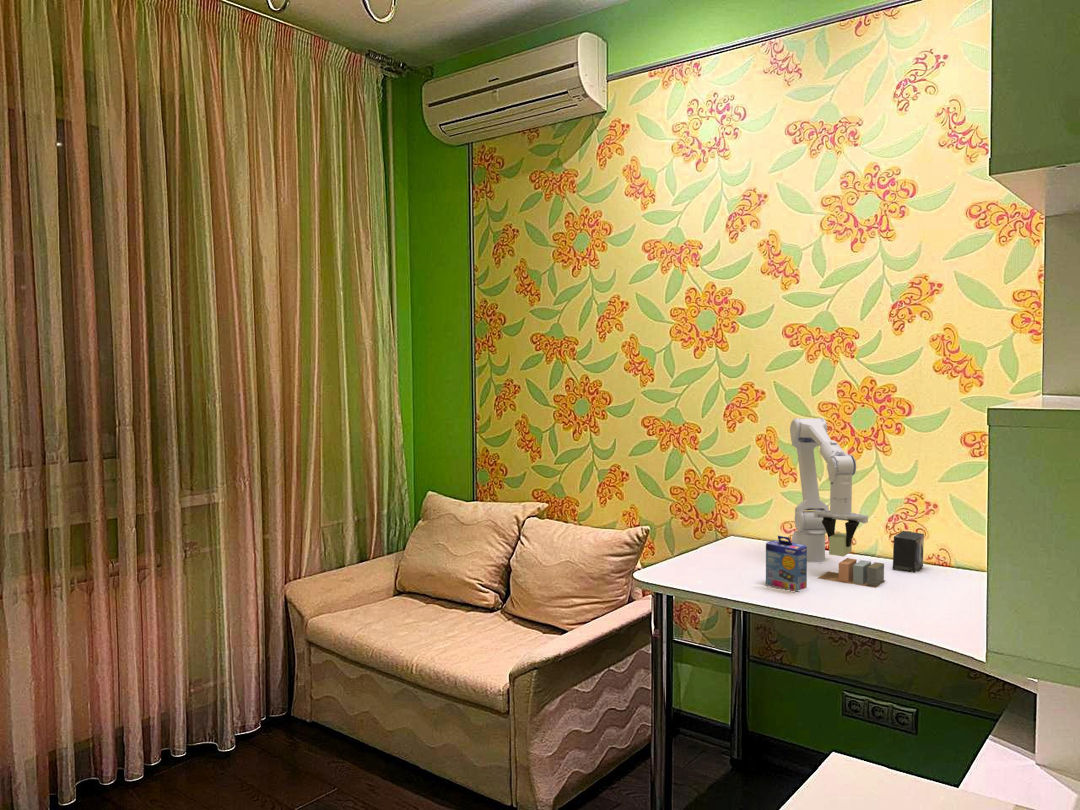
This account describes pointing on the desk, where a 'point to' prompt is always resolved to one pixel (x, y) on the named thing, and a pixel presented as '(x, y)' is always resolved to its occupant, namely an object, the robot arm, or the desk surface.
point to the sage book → (838, 545)
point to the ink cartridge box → (786, 564)
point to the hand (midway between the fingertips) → (840, 545)
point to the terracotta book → (846, 569)
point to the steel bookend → (875, 574)
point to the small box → (908, 551)
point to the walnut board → (835, 577)
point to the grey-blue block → (860, 572)
